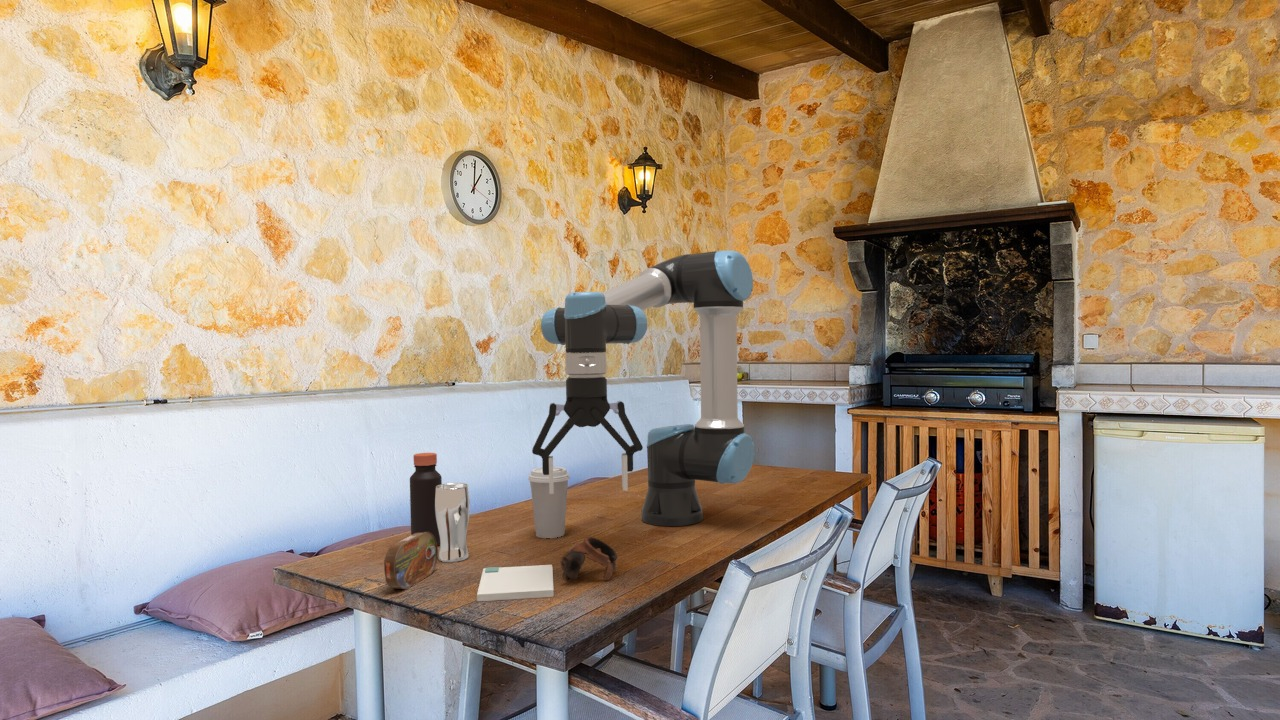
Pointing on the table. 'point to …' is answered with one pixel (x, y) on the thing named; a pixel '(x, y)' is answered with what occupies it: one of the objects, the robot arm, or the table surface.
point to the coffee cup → (549, 502)
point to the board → (516, 583)
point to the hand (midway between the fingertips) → (588, 491)
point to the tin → (410, 560)
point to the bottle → (424, 494)
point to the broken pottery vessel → (589, 547)
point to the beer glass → (452, 520)
